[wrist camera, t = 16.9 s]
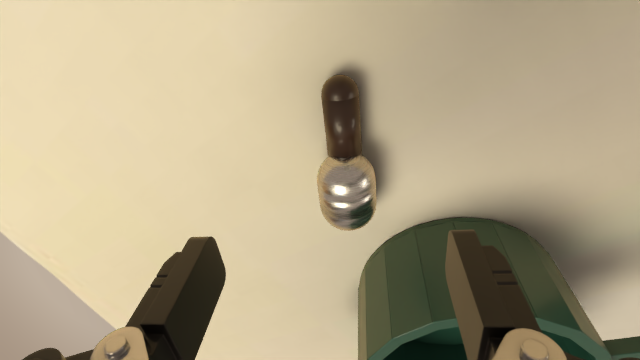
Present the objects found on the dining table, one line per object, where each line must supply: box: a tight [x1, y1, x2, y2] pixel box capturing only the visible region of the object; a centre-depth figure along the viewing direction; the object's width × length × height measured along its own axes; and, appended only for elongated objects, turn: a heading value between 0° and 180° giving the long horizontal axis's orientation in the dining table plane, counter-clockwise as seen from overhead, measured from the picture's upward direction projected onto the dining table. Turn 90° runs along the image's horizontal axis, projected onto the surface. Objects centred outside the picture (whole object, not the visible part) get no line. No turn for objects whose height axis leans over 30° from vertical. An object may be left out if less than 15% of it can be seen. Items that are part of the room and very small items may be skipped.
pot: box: [358, 218, 640, 360], centre depth 27 cm, size 16×21×8 cm
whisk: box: [317, 75, 376, 231], centre depth 23 cm, size 10×4×4 cm, turn 6°
